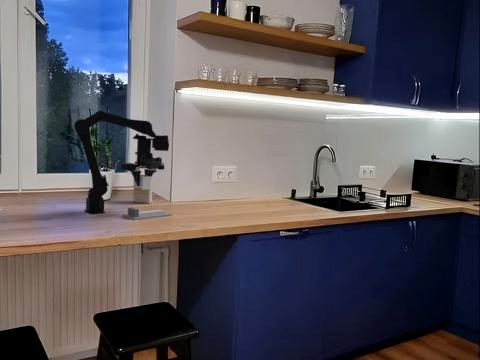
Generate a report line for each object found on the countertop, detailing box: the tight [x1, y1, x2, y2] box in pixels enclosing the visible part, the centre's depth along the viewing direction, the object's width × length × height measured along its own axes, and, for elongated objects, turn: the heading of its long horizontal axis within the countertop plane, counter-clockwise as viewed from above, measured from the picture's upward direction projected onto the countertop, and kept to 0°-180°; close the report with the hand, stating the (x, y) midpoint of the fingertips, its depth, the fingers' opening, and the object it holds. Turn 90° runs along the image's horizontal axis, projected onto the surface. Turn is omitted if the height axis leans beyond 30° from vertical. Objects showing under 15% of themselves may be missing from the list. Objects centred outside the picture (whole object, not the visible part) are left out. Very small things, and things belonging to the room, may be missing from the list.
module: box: [135, 174, 151, 190], centre depth 190 cm, size 4×6×6 cm, turn 46°
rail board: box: [122, 207, 172, 221], centre depth 185 cm, size 18×9×4 cm, turn 135°
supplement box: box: [132, 175, 154, 205], centre depth 212 cm, size 8×5×13 cm, turn 84°
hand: (142, 186), depth 190 cm, fingers closed on module, 4 cm apart
